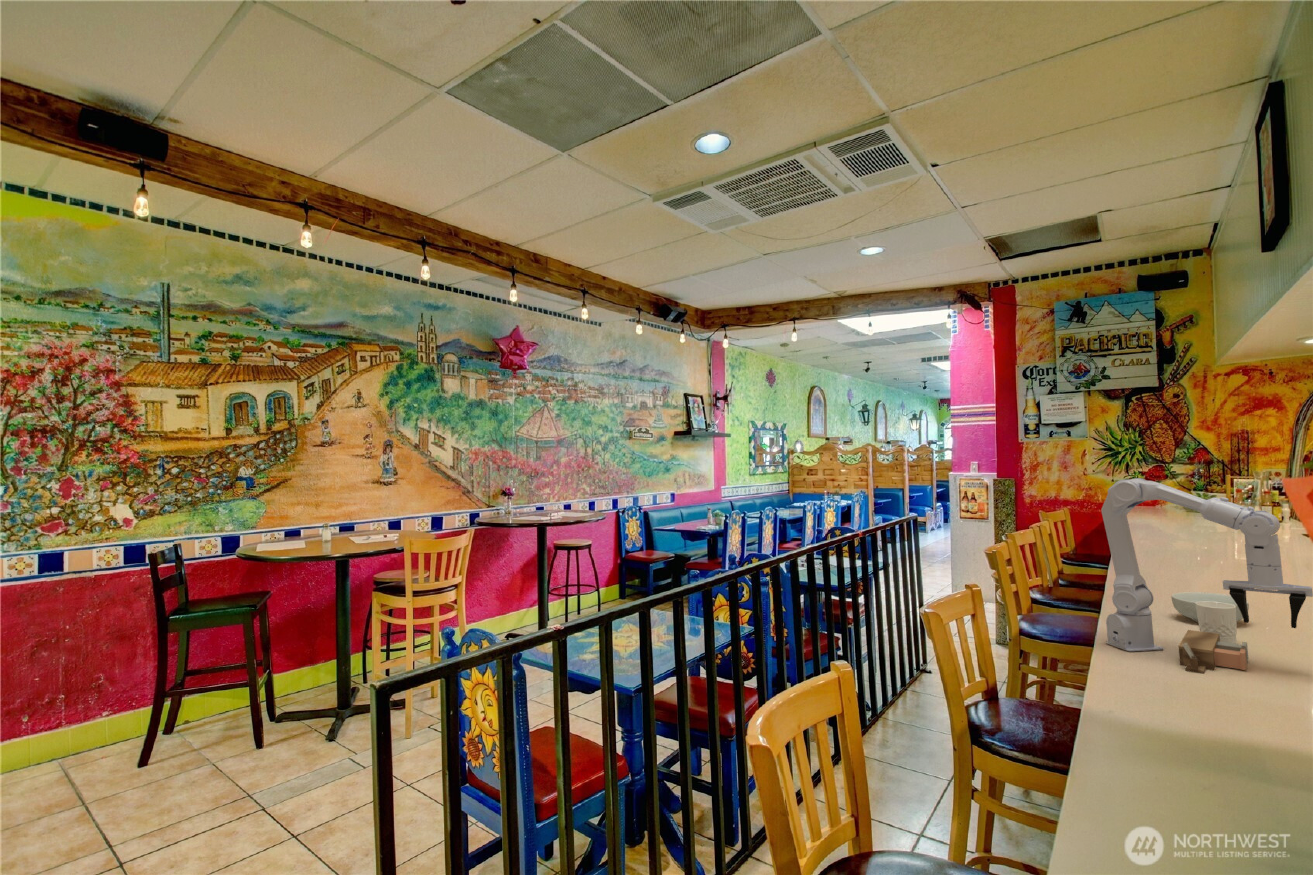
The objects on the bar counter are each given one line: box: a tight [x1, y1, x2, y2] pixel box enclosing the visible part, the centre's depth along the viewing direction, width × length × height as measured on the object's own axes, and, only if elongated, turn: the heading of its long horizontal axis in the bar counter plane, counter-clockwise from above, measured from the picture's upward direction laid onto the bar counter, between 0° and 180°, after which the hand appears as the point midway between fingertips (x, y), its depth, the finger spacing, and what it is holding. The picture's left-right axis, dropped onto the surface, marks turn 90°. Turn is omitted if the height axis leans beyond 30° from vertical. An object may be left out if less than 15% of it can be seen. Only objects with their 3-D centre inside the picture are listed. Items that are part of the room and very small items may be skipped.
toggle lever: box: [1182, 643, 1199, 662], centre depth 143 cm, size 1×2×4 cm, turn 133°
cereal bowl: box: [1171, 591, 1250, 623], centre depth 180 cm, size 17×17×7 cm
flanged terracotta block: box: [1214, 648, 1248, 671], centre depth 144 cm, size 7×4×4 cm, turn 43°
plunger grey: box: [1217, 641, 1249, 664], centre depth 148 cm, size 7×4×4 cm, turn 43°
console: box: [1178, 629, 1220, 674], centre depth 148 cm, size 6×22×4 cm, turn 133°
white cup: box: [1196, 601, 1238, 644], centre depth 161 cm, size 8×8×10 cm
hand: (1269, 624), depth 140 cm, fingers open, 7 cm apart
